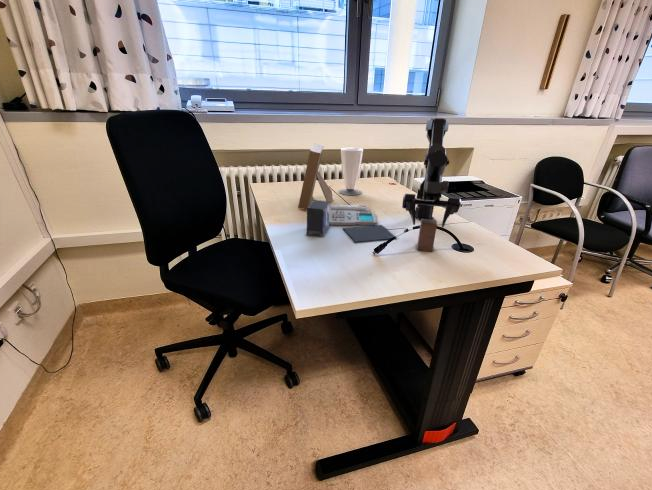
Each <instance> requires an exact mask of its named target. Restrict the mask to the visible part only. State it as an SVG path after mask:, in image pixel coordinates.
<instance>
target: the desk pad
mask: <svg viewBox="0 0 652 490" xmlns="http://www.w3.org/2000/svg"><path fill="white" fill-rule="evenodd" d="M342 230H343V231H344V232H345V233H346V235H348V236H349V238H350V239H351V240H352V241H353V242H354V243H355V244H356V243H367V242H376V241H387V240H388V241H389V240H392V239H391V238H392V237H396V236H395V235H394V234H393V233H392V232H390V231H389V230H388V229H387V228H385V226H383V225H382V224H377V225H364V226H352V227H343V229H342ZM396 239H397V237H396V238H394V239H393V240H396Z"/></svg>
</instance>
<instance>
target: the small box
mask: <svg viewBox="0 0 652 490" xmlns="http://www.w3.org/2000/svg"><path fill="white" fill-rule="evenodd" d="M329 207H330V201H329V202H327V201H326V200H325V201H324V200H316V199H313V201H311V202H310V205H309V206H308V207H307V210H306V236H313V237H324V235H325V234H326V232H327V231H328V229H329V226H330V225H329Z"/></svg>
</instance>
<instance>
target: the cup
mask: <svg viewBox="0 0 652 490" xmlns="http://www.w3.org/2000/svg"><path fill="white" fill-rule="evenodd" d="M363 155H364V149H363V148H361V147H351V146H349V147H341V148H340V158H341V170H342V176H343V181H344V185H345V189H341V190H339V193H340V195H346V196H358V195H361V193H362V192H361V191H360V190H358V189H356V186H357V182H358V180H359V179H358V178H359V176H360V171H361V166H362V161H363Z"/></svg>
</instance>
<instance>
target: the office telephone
mask: <svg viewBox="0 0 652 490" xmlns="http://www.w3.org/2000/svg"><path fill="white" fill-rule="evenodd" d="M331 225H334V226H356V225H364V226H375V225H378V221H377V215H376V213H375V211H370V209H369V206H367V205H355V204H354V205H350V204H349V205H348V204H331V205H329V226H331Z"/></svg>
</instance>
